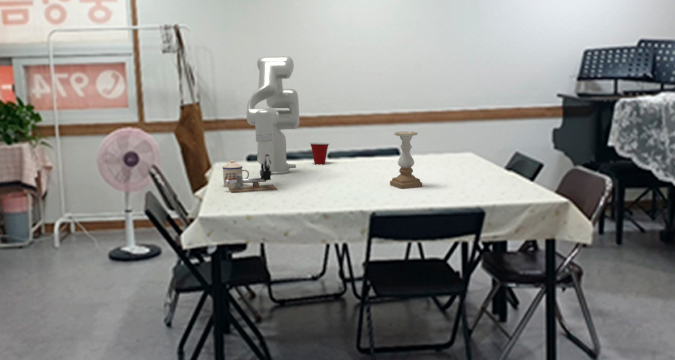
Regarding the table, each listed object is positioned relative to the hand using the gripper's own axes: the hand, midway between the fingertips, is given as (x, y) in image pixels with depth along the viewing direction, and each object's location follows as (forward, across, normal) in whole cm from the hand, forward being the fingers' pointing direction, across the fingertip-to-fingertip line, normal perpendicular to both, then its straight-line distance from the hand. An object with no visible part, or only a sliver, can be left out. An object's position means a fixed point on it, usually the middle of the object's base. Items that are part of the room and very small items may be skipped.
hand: (265, 178), depth 301 cm
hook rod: (+2, 0, -8) cm, 8 cm away
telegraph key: (+5, 0, -6) cm, 8 cm away
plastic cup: (+5, -63, +42) cm, 76 cm away
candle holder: (+5, +17, +60) cm, 63 cm away
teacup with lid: (+5, -13, -11) cm, 18 cm away
